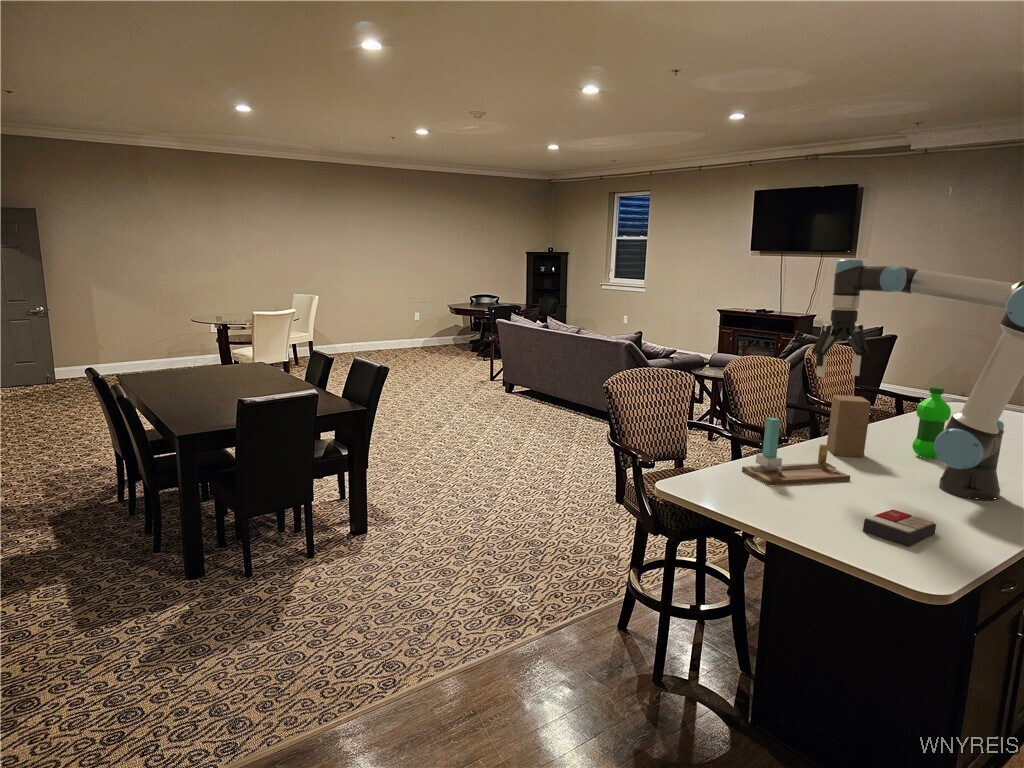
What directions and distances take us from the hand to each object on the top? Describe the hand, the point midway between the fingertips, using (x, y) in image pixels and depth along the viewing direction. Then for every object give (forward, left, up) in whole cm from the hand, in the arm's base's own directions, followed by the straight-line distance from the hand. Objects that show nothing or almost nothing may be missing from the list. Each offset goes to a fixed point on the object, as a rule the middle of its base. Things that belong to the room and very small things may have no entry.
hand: (837, 376), depth 213 cm
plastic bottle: (+6, -47, -31) cm, 57 cm away
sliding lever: (-4, +24, -29) cm, 38 cm away
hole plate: (-5, +16, -31) cm, 35 cm away
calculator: (-49, +19, -32) cm, 61 cm away
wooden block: (+15, -20, -31) cm, 40 cm away
